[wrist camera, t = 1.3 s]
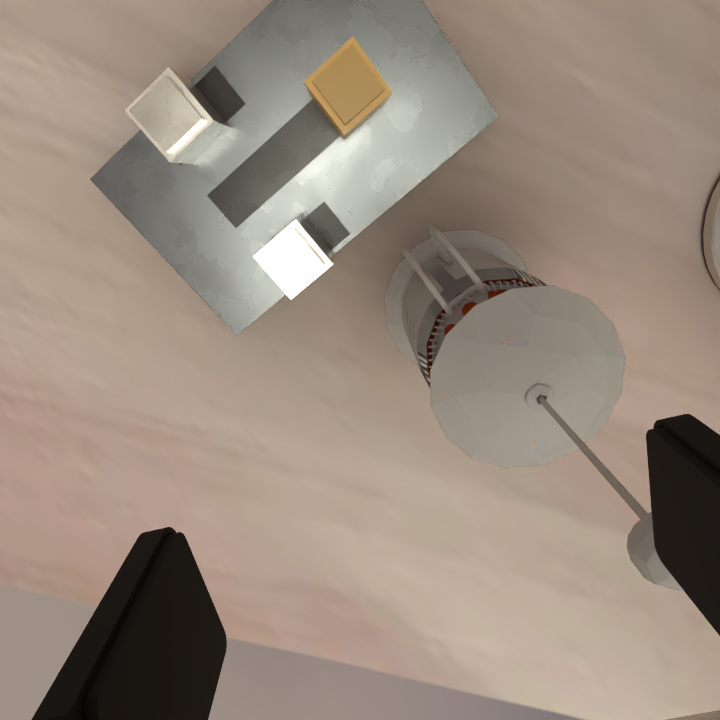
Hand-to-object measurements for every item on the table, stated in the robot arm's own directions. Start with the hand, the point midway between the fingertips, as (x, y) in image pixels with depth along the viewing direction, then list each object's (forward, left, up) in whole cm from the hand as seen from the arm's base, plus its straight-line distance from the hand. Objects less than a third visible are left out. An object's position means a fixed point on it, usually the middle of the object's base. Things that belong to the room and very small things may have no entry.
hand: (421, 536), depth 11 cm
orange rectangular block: (-6, -9, -24) cm, 26 cm away
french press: (-4, +4, -26) cm, 26 cm away
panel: (-2, -9, -25) cm, 27 cm away
